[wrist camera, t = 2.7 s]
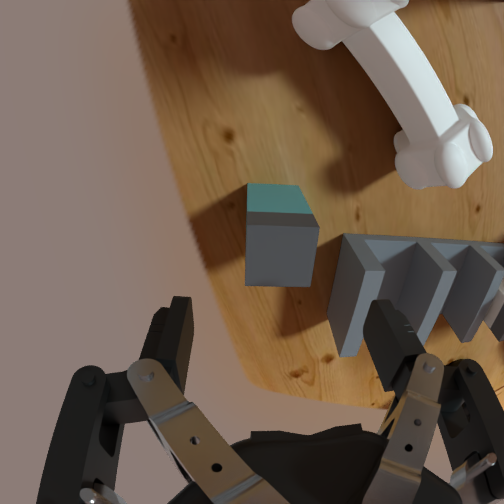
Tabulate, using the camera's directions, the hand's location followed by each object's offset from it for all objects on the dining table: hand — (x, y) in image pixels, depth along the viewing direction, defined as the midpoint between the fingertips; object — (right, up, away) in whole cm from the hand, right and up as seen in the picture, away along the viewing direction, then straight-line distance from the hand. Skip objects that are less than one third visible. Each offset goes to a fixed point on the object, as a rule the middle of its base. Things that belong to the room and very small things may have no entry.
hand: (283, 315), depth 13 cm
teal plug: (0, +6, +12) cm, 13 cm away
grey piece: (+18, 0, +15) cm, 23 cm away
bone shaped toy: (+9, +16, +6) cm, 20 cm away
